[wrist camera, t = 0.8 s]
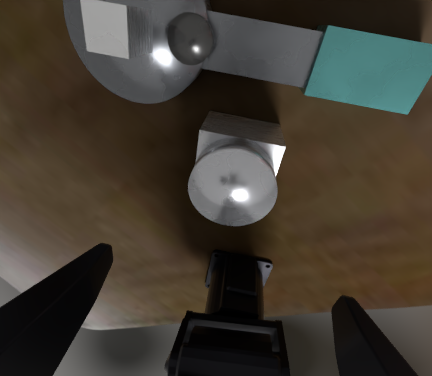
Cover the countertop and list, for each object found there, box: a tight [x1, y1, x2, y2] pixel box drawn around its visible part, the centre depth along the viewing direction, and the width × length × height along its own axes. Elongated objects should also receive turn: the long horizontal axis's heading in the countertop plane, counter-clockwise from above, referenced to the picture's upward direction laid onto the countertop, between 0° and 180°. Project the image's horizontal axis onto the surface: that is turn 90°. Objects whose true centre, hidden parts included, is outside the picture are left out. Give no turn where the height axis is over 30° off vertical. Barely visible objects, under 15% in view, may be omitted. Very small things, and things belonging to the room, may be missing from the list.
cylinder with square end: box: [188, 111, 286, 226], centre depth 17 cm, size 5×5×6 cm
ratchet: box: [63, 0, 432, 115], centre depth 13 cm, size 20×8×6 cm, turn 81°
